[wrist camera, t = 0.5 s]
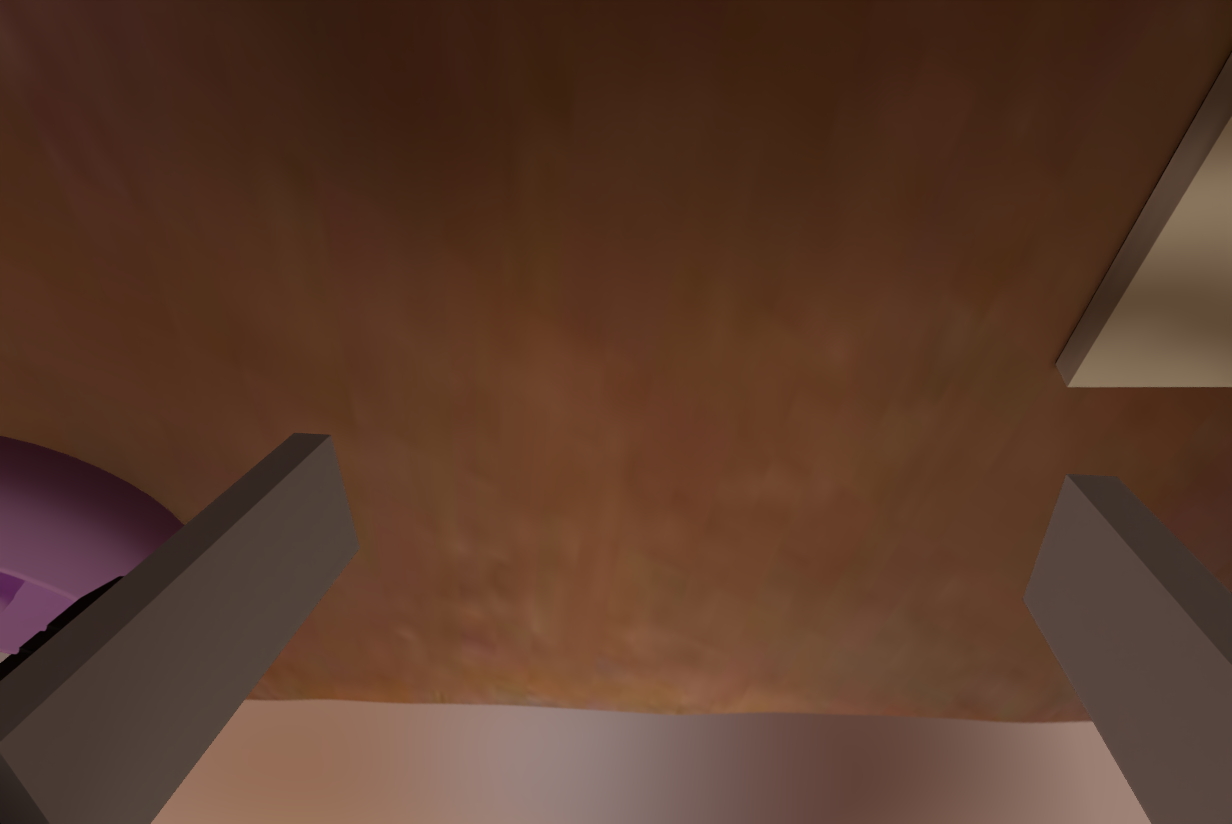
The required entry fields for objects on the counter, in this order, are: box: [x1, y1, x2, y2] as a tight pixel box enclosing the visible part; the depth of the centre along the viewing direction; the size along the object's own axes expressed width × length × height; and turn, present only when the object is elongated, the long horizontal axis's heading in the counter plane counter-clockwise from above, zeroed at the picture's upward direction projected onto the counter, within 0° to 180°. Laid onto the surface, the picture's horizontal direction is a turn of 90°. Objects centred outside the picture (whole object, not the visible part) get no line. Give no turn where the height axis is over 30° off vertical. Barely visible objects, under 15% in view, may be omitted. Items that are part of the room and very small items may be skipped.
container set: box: [0, 436, 184, 654], centre depth 39 cm, size 25×15×13 cm, turn 172°
